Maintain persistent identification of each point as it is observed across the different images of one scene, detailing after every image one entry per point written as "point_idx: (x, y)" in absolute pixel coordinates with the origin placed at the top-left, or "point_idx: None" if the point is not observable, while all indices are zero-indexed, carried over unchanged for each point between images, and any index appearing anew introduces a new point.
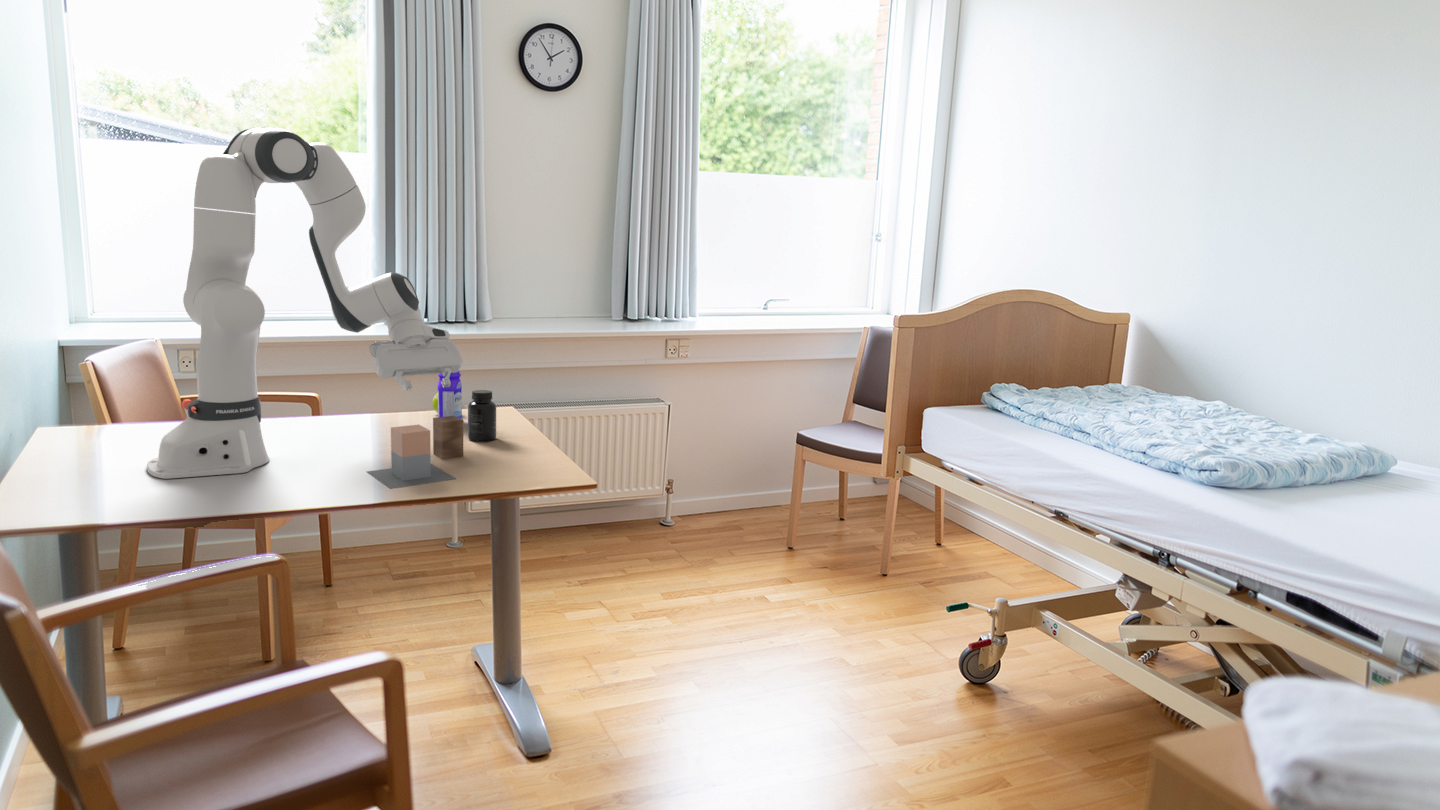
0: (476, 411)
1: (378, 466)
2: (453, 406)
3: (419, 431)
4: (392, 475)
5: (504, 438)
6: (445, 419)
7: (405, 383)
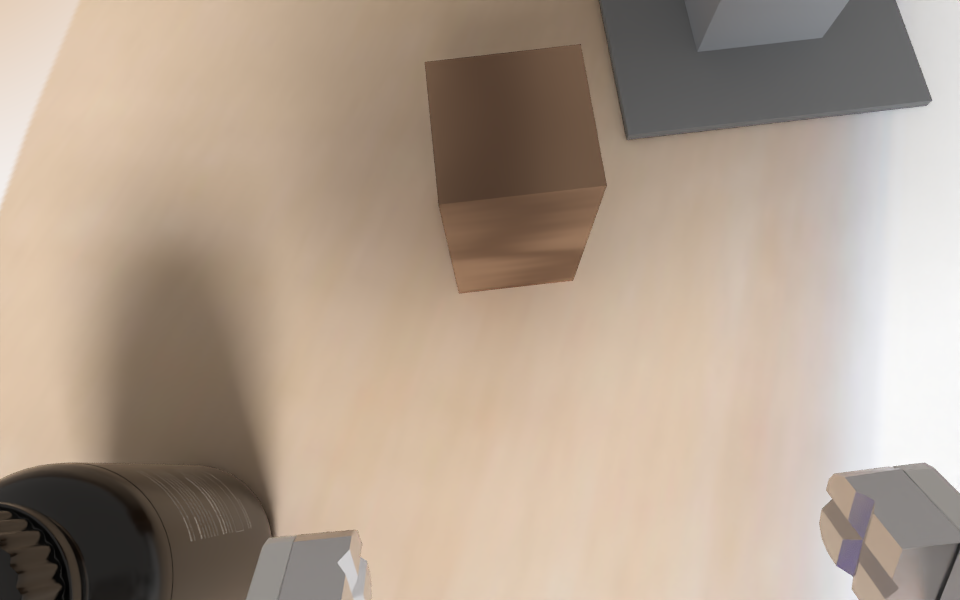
0: (151, 494)
1: (862, 194)
2: None
3: None
4: None
5: None
6: (535, 111)
7: (956, 494)
